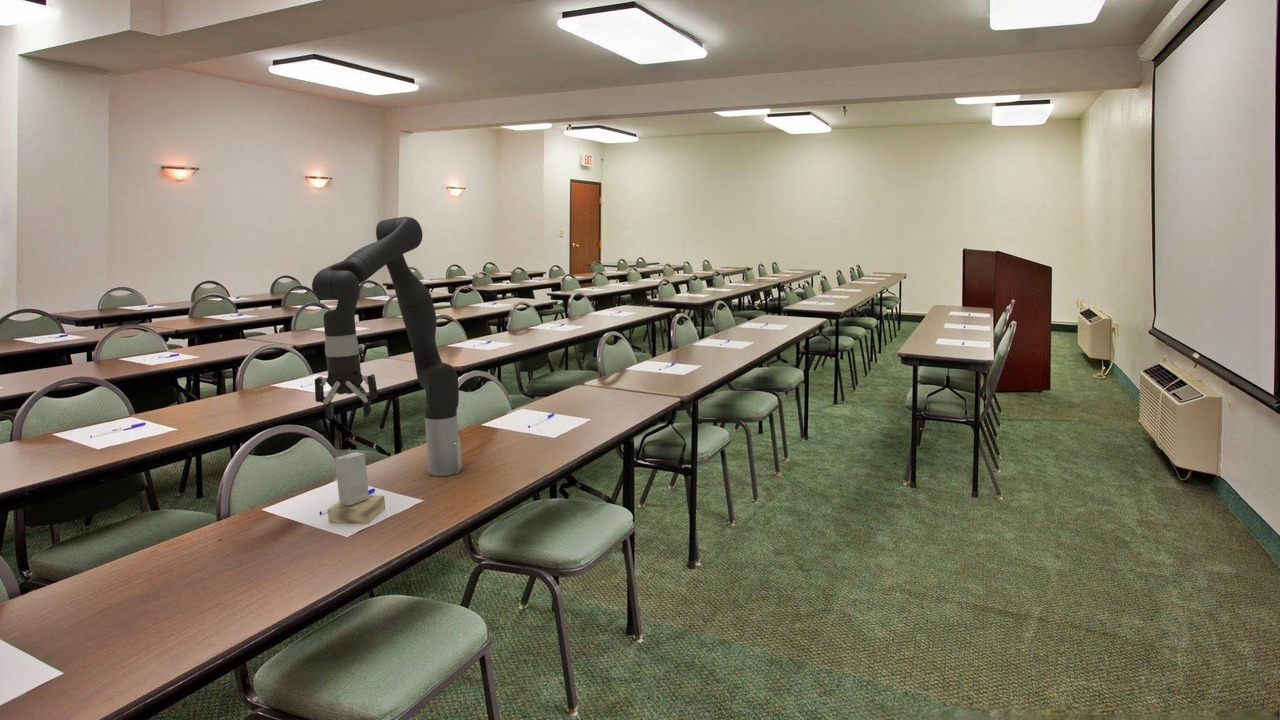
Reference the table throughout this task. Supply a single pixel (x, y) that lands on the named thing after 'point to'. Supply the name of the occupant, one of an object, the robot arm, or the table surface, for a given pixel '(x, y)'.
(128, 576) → the table surface
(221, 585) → the table surface
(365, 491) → the skincare box
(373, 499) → the block
